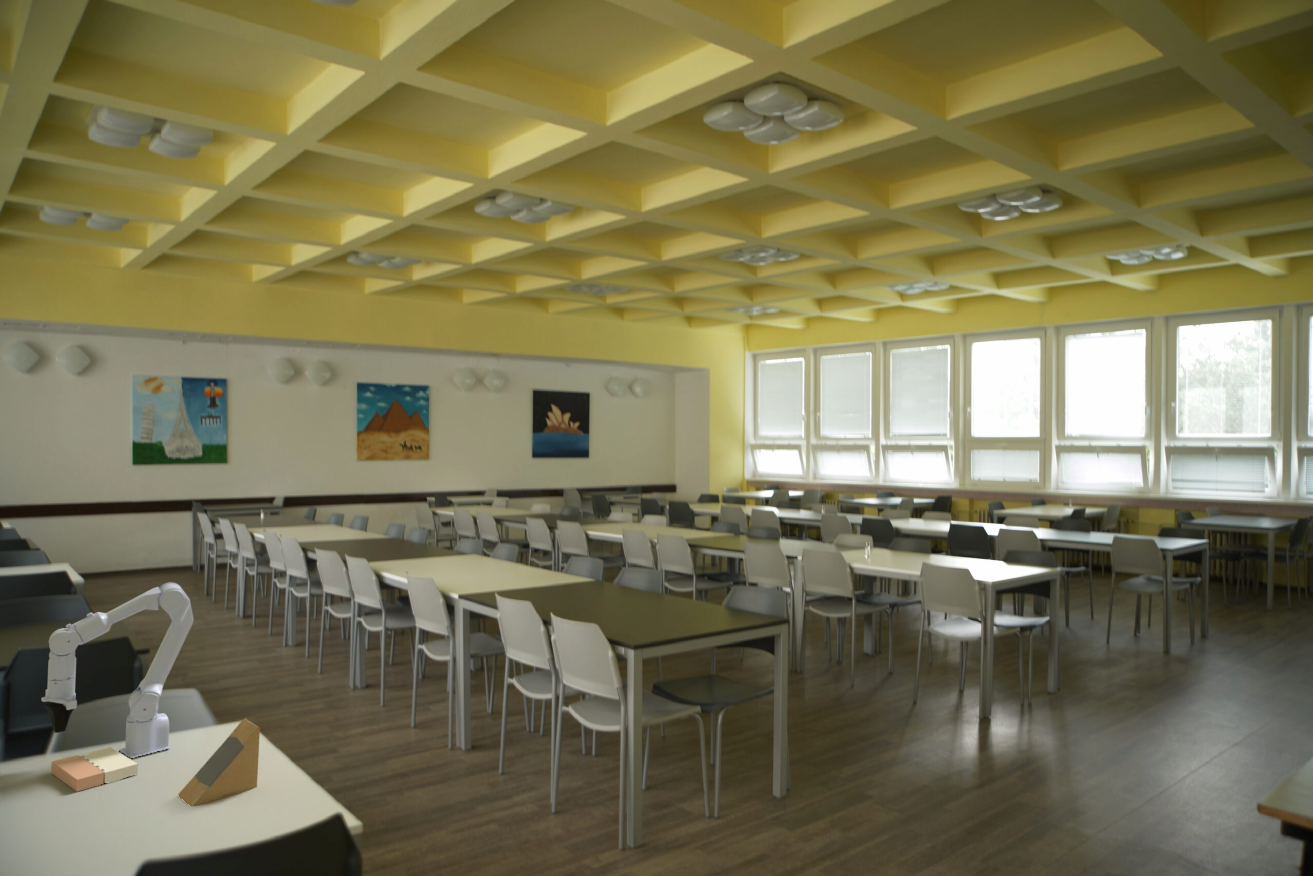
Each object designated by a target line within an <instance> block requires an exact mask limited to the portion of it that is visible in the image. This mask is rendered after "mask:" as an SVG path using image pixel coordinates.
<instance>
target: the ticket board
mask: <svg viewBox="0 0 1313 876" xmlns="http://www.w3.org/2000/svg"><path fill="white" fill-rule="evenodd" d="M78 756H79V757H81V758H82V759H84V760H85V761H87V762H88V763H90V764H91V765H93V766H95V767H96V768H98V769H99V770H101V771H102V772H104V779H103V784H104V783H107V782H111V783H113V782H112V781H115V780H118V781H120V780H119V779H122V778H125V777H128V776H131V775H135V774H137V775H138V770H139V767H138V766H139V763H138V762H135V761H134V760H133V759H131V758H129V757H127V756H126V755H124V754H122V753H121V752H119V750H116V749H115V748H112V747H105V748H102V749H98V750H94V751H90V752H85V753H82V754H78ZM122 780H123V779H122ZM115 782H116V781H115Z"/></svg>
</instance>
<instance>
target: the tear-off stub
mask: <svg viewBox="0 0 1313 876" xmlns="http://www.w3.org/2000/svg"><path fill="white" fill-rule="evenodd" d="M50 765H51V766H50V767H51V768H50V773H51V774H52V775H54V776H55V777H56V778H57V779H59V780H61V781H62V782H63V783H64V784H66V785H67V786H68V787H70V788H71V789H73V790H74V791H75V792H80V791H83V790H88V789H91V787H92V788H95V787H99V786H102V785H104V783H103V779H104V772H102V771H101V770H99V769H98V768H96V767H95V766H93V765H91V764H90V763H88V762H87V761H85V760H84V759H82V758H81V757H79V754H75V755H71V756H69V757H68V756H67V757H63V758H61V759H56V760H52V761H51V764H50ZM101 784H102V785H101ZM98 785H99V786H98ZM94 786H95V787H94Z"/></svg>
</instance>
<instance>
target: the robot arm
mask: <svg viewBox="0 0 1313 876" xmlns="http://www.w3.org/2000/svg"><path fill="white" fill-rule="evenodd" d="M159 607H160V608H161V609H163V610H164V611H165V612H166V614H167V615H168V616H169V618H170V620H171V622H170V625H169V626H168V629H167V630H166V633H165V635H164V637H163V639H162V641H161V643H160V646H159V647H158V649H157V652H156V653H155V656H154V658H153V660H152V662H151V664H150V666H149V669H148V670H147V672H146V675H145V677H144V678H143V679H142V680H141V681H140V682H139V684H138V687H137V688H136V689H135V690H133V692H132V693H130V694H129V696H128V699H127V705H128V707H129V709H130V711H129V712H130V713H129V714H128V715H127V716H126V723H125V724H126V726H125V746H124V747H123V748H120V749H118V752H119V751H120V752H119V753H121V752H122V753H124V754H125V755H124V754H123V755H124V756H126V755H127V756H128V757H127V756H126V757H127V758H129V757H130V758H129V759H131V758H133V759H136V758H135V757H137V758H139V757H138V756H141V755H144V754H148V755H150V754H149V753H152V754H154V753H153V752H156V753H158V752H157V751H160V752H163V751H162V750H164V751H166V750H165V749H168V750H170V746H169V741H170V739H169V738H170V721H169V716H167V714H166V713H164V712H162V713H159V712H158V711H159V707H160V706H159V701H160V698H161V696H162V692H163V687H164V684H165V683H166V680H167V677H168V676H169V674H170V672H171V670H172V668H173V666H174V663H175V662H176V659H177V657H178V656H179V654H180V651H181V649H182V647H183V645H184V643H185V640H186V639H187V636H188V634H189V633H190V630H191V629H192V626H193V623H194V614H193V610H192V609H193V608H192V605H191V599H190V597H189V596H188V595H187V593H186V592H185V591H184V589H183V588H182V586H181V585H180V584H178V583H176V582H172V581H171V582H170V581H169V582H166V583H163V584H161V585H160V586H156V587H153V588H151V589H149V590H147V591H144V592H143V593H142V594H140V595H137V596H136V597H133V598H132V599H130V600H128V601H126V602H125V603H123V604H120V605H118V606H117V607H116V608H113V609H112V610H111V609H110V611H107V612H101V611H97V612H95V613H93V612H89V613H87V614H86V617H84V618H82V619H80V620H78V621H77V622H74V623H72V624H71V623H68V624H66V625H65V628H63V627H62V628H58V629H56V630H55V631H53V632H52V633H51V635H50V636H49V639H48V644H49V645H48V647H49V651H50V652H49V653H48V657H49V659H48V662H47V663H48V664H47V665H48V667H47V689H45V696H42V697H41V699H40V700H41V702H43V703H45V702H49V703H45V704H44V708H45V709H46V710H47V712H48V714H49V717H50V721H51V726H52V731H53V733H55V734H57V733H61V732H66V729H67V727H68V724H69V721H70V717H71V715H72V713H73V711H74V710H75V709H78V708H77V706H78V700H77V699H76V697H77V696H76V695H77V694H76V673H77V657H76V650H77V648H78V646H81V645H84V644H86V643H88V642H90V641H92V640H95V639H96V638H98V637H100V636H103V635H105V634H106V633H108V632H109V631H110V630H111V627H112V625H113V624H116V623H118V622H120V621H122V620H124V619H127V618H129V617H131V616H133V615H135V614H138V613H140V612H142V611H144V610H149V611H159V610H160V609H159ZM122 753H121V754H122ZM141 757H142V756H141Z"/></svg>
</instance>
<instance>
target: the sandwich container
mask: <svg viewBox="0 0 1313 876" xmlns="http://www.w3.org/2000/svg"><path fill="white" fill-rule="evenodd" d="M260 729H261V728H260V727H259V726H258V725H256V724H254V723H253V722H252V721H250V720H248V719H247V718H245V717H244V718H243V719H242V720H241V721H240V723H239V724H238V725H237V726H236V727H235V728H234V729H233V731H232V732H231V733H230V734H229V736H228V737H227V738H226V739H225V740H224V742H223V743H222V744H221V745H220V746H219V747H218V748H217V749H216V751H215V752H214V753H213V754H211V757H209V759H208V760H207V761H206V762H205V763H204V764H203V766H201V768H200V769H199V770H198V771H197V772H196V774H194V776H193V777H192V778H191V779H190V780H189V781H188V782H187V783H186V785H185V786H184V787H183V788H182V789H181V791H179V792H178V794H177V795H179V797H180V798H181V799H183V800H184V801H185V802H186V803H187V804H186V803H185V802H184V801H183V802H184V803H185V804H186V805H188V804H189V805H190V806H189V805H188V806H189V807H193V806H197V805H200V804H203V803H204V804H205V803H207V802H212V801H214V800H218V799H221V798H225V797H229V796H233V795H236V794H238V793H242V792H246V791H249V790H252V789H255V788H254V787H256V788H258V772H259V771H258V770H259V756H260V755H259V751H260V732H261V730H260ZM179 797H178V798H179ZM180 798H179V799H180ZM181 799H180V800H181Z"/></svg>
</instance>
